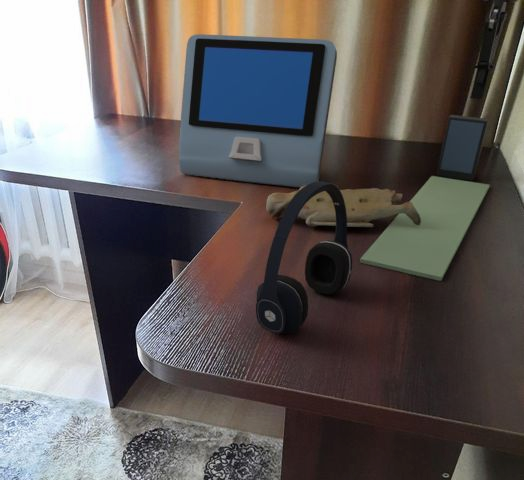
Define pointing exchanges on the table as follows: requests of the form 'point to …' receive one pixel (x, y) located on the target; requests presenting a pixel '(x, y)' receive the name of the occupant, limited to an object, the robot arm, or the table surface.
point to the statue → (357, 207)
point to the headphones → (316, 267)
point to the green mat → (429, 229)
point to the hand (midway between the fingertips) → (476, 98)
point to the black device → (462, 147)
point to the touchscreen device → (256, 108)
